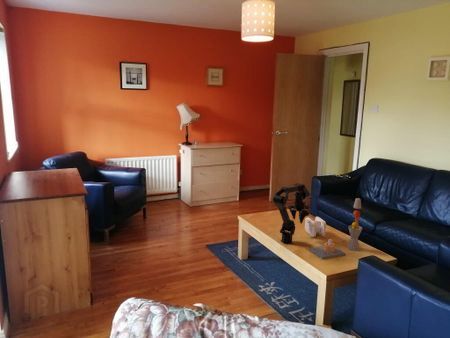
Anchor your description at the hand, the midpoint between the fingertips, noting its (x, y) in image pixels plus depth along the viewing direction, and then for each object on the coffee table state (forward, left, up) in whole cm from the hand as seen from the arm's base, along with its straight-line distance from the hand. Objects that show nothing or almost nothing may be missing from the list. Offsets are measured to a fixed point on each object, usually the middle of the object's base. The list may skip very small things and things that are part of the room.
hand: (297, 221), depth 255 cm
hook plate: (+4, -30, -12) cm, 32 cm away
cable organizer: (+16, 0, -12) cm, 20 cm away
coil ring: (+6, -30, -10) cm, 32 cm away
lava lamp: (+26, -30, -12) cm, 41 cm away
